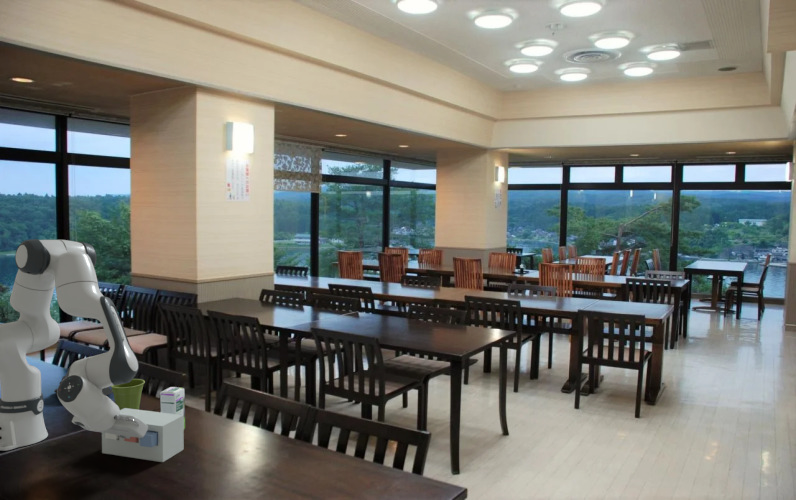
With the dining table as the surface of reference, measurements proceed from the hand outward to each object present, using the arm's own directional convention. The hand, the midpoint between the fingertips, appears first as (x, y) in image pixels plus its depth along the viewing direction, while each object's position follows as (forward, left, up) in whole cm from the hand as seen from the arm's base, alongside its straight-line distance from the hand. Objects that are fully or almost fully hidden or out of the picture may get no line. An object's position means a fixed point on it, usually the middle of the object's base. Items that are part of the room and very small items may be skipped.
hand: (126, 436), depth 175 cm
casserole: (-41, +64, -8) cm, 76 cm away
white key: (-6, +5, -2) cm, 8 cm away
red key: (+1, +3, -2) cm, 4 cm away
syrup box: (+6, +24, -8) cm, 26 cm away
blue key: (+7, -1, -2) cm, 7 cm away
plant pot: (-16, +43, -8) cm, 46 cm away
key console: (+2, +7, -7) cm, 10 cm away
